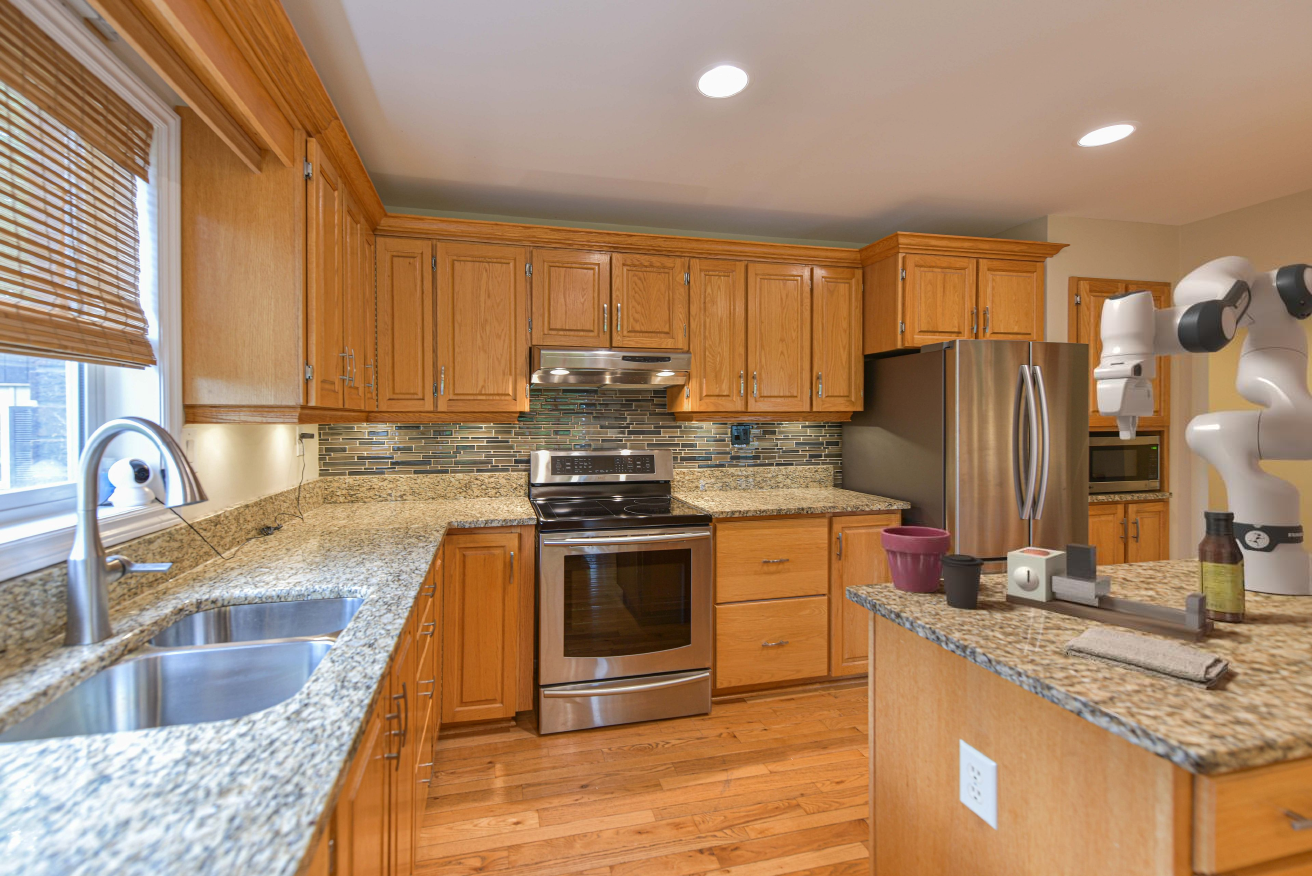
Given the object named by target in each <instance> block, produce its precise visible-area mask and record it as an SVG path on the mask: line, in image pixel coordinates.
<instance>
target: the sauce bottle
mask: <svg viewBox="0 0 1312 876" xmlns="http://www.w3.org/2000/svg"><path fill="white" fill-rule="evenodd" d="M1203 516H1204V519H1205V535H1204V538H1202V540H1200V543H1199V544H1198V548H1197V549H1198V560H1197V571H1198V572H1197V573H1198V593H1200V594H1206V619H1209V620H1214V621H1219V622H1226V623H1227V622H1228V623H1229V622H1230V623H1240V622H1244V621H1245V613H1246V610H1247V609H1246V589H1245V582H1244V580H1245V578H1244V556H1243V554H1242V552H1241V550H1240V548H1239V545H1238V543H1237V541H1236V539H1235V537H1234V532H1233V520H1234V513H1233V512H1231V511H1228V510H1214V509H1211V510H1210V509H1208V510H1204V513H1203Z"/></svg>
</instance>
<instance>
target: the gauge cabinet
mask: <svg viewBox="0 0 1312 876" xmlns="http://www.w3.org/2000/svg"><path fill="white" fill-rule="evenodd" d="M1027 549H1036V550H1044V551H1048V552H1050V555H1048V556H1041V555H1034V554H1027V553H1024V550H1027ZM1006 558H1007V560H1006V561H1007V565H1006V568H1007V576H1006V577H1007V581H1006V582H1007V583H1006V584H1007V587H1006V588H1007V589H1006V590H1007V591H1006V592H1007V593H1006V594H1010V595H1015V596H1020V597H1024V598H1029V599H1034V600H1039V601H1044V602H1046V601H1049V600H1051V599H1053V598H1054V591H1052V576H1054V575H1057V574H1059V573H1062V572H1065V571H1066V551H1063V550H1056V549H1055V550H1053V549H1047V548H1042V547H1032V546H1027V547H1024V548H1020V549H1017V550H1012V551H1009V552H1007V557H1006Z"/></svg>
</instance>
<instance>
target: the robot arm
mask: <svg viewBox="0 0 1312 876" xmlns="http://www.w3.org/2000/svg"><path fill="white" fill-rule="evenodd" d="M1172 296H1173V303H1174V305H1175V306H1171V307H1167V308H1161V309H1158V308H1157V307H1155V303H1154V298H1153V293H1152V291H1151V290H1147V289H1140V290H1134V291H1129V292H1123V293H1118V294H1113V295H1111V296H1108V297H1107V298H1106V299H1105V300H1104V303H1103V305H1102V306H1103V307H1102V310H1101V311H1102V312H1101V317H1100V318H1101V319H1100V340H1101V344H1102V351H1101V354H1100V364H1099V365H1098V366H1097V367H1095V368H1094V369H1093V379H1094V380H1097V382H1096V397H1097V398H1096V399H1097V408H1098V412H1099V414H1100V416H1101V417H1116V424H1117V427H1118V430H1119V438H1120V440H1135V438H1136V431H1137V428H1138V424H1139V417H1141V418H1142V417H1143V418H1144V417H1145V418H1146V417H1153V415H1154V412H1155V405H1154V404H1155V400H1154V389H1153V388H1154V387H1153V383H1152V382H1151V381H1150V380H1152V379H1153V380H1154V379H1156V378H1157V374H1156V373H1157V369H1156V368H1157V357H1165V356H1176V355H1183V354H1184V355H1185V354H1204V353H1217V352H1220V351H1221V350H1222V349H1224V348H1225V347H1226V346H1227V345H1228V344H1230V343H1231V341H1232V340H1233V339H1234V337H1235V334H1236V332H1237V330H1238V329H1243V328H1247V330H1248V332H1247V334H1246V336H1245V338H1244V341H1243V343H1242V346H1241V350H1240V354H1239V359H1238V366H1237V373H1236V378H1235V379H1236V380H1235V391H1236V392H1237V393H1238V395H1239V396H1240V397H1241V398H1243V399H1245V401H1247V402H1249V403H1251V404H1254V405H1257V406H1259V407H1263V408H1265V409H1252V410H1251V409H1248V410H1245V409H1243V410H1221V411H1215V412H1214V411H1213V412H1207V413H1203V414H1197V415H1196V416H1194V418H1193V419H1191V420H1190V422H1189V423H1187V426H1186V429H1185V434H1184V435H1185V437H1184V438H1185V442H1186V443H1187V446H1188V447H1189V449H1190V450H1191V451H1192V452H1194V454H1196V455H1198V456H1199V457H1201V458H1203V459H1205V461H1206V462H1208V463H1210V464H1211V465H1212V467H1213V468H1214V469H1216V470H1217V472H1218V474H1219V475H1220V476H1221V479H1222V480H1223V482H1224V485H1225V488H1226V495H1227V511H1231V512H1233V513H1234V520H1233V532H1234V537H1235V539H1236V541H1237V543H1238V545H1239V548H1240V550H1241V552H1242V554H1243V556H1244V578H1245V580H1244V582H1245V590H1246V591H1253V592H1261V593H1267V594H1268V593H1269V594H1279V595H1292V596H1293V595H1295V596H1304V595H1305V596H1312V554H1311V553H1310V552H1309V551H1308V550H1307V549H1306V548H1305V547H1304V546H1303V542H1304V534H1305V533H1304V528H1303V526H1302V525H1301V493H1300V491H1299V489H1298V487H1296V486H1295V485H1294V484H1293V483H1291V482H1290V481H1288V480H1285V479H1283V478H1282V477H1279V476H1275V475H1274V474H1271V473H1268V472H1266V471H1264V470H1263V469H1262V466H1261V465H1260V461H1267V460H1268V461H1299V462H1300V461H1302V462H1303V461H1307V462H1308V461H1312V394H1311V393H1310V391H1309V388H1308V362H1309V344H1308V337H1307V332H1306V329H1305V327H1304V326H1303V324H1302V323H1301V322H1300V321H1299V320H1301V321H1303V320H1307V319H1308V318H1309V317H1311V315H1312V265H1309V264H1307V263H1295V264H1290V265H1284V266H1283V265H1282V266H1281V267H1280V268H1278V269H1272V270H1269V271H1265V272H1261V273H1257V268H1256V266H1255V264H1254V263H1253V262H1251V260H1250V259H1248V258H1246V257H1243V256H1237V255H1227V256H1223V257H1220V258H1217V259H1213V260H1211V261H1208V262H1207V263H1204V264H1203V265H1200V266H1199V267H1197V268H1195V269H1194V270H1193V271H1191V272H1190V273H1188V274H1187V275H1186V276H1184V277H1183V278H1182V279H1181V280H1180V281H1179V282H1178V283H1177V284H1176V287H1175V289H1174V291H1173V295H1172Z"/></svg>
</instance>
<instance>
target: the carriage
mask: <svg viewBox="0 0 1312 876" xmlns="http://www.w3.org/2000/svg"><path fill="white" fill-rule="evenodd" d="M1065 552H1066V571H1065V572H1062V573H1059V574H1057V575H1054V576H1052V591H1054V592H1056V598H1059V599H1064V600H1069V601H1074V602H1079V603H1084V604H1089V605H1094V606H1100V597H1101V596H1103V595H1106V596H1108V594H1110V593H1111V576H1109V575H1102V574H1097V546H1096V545H1090V544H1082V543H1074V542H1072V543H1067V544H1066V551H1065Z"/></svg>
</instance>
